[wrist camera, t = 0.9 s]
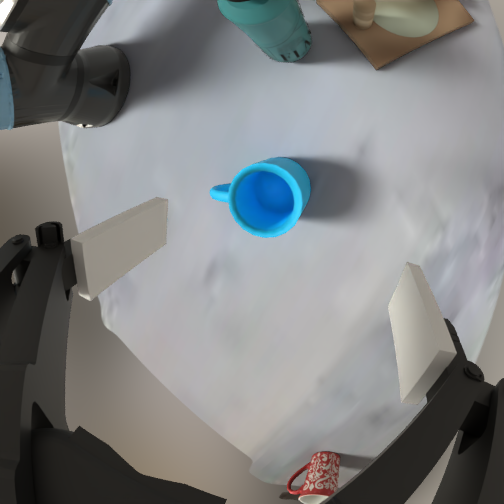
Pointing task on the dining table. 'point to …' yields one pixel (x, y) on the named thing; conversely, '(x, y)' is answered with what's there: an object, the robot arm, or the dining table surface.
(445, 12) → the wooden board with pegs
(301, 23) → the beverage bottle
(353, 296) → the dining table surface
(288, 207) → the mug
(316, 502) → the mug
